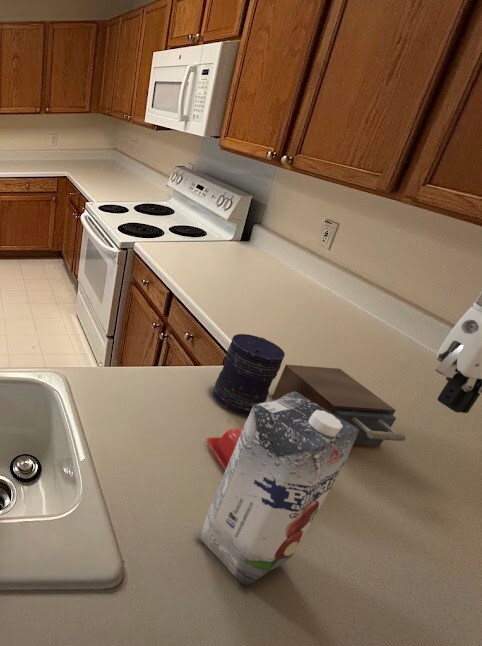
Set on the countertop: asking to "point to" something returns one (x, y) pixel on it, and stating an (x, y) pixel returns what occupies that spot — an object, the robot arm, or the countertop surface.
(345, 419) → the drawer
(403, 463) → the countertop surface
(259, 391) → the storage jar
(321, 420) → the juice carton
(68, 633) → the countertop surface
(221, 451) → the butter dish
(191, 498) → the countertop surface
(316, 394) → the cabinet
